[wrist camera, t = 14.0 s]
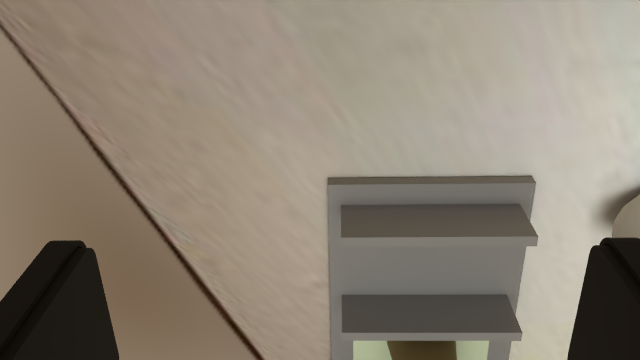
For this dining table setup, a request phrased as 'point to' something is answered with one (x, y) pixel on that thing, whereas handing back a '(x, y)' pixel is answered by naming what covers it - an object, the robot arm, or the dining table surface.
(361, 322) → the rack
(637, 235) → the donut
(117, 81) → the dining table surface
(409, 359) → the brown gourd-shaped form
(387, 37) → the dining table surface
